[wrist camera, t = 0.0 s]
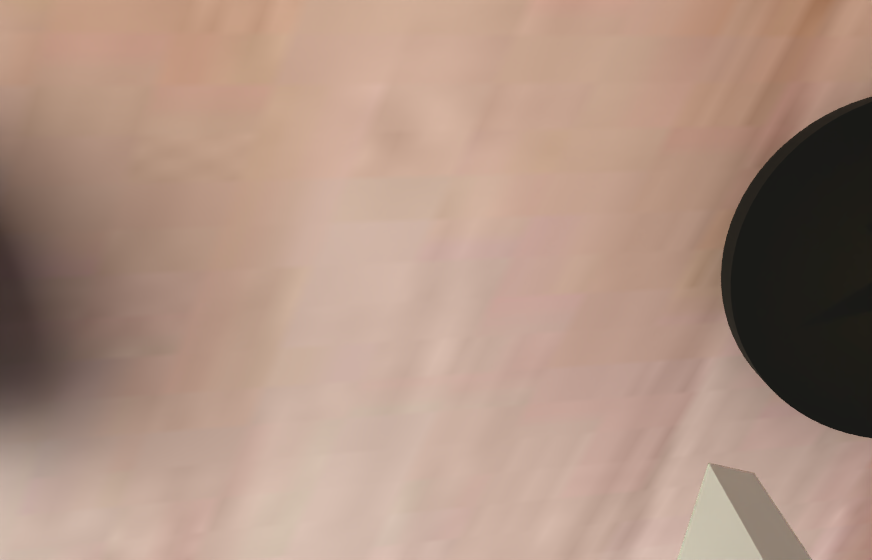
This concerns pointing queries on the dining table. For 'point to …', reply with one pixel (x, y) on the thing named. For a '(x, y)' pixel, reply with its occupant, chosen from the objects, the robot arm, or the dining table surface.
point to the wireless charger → (809, 271)
